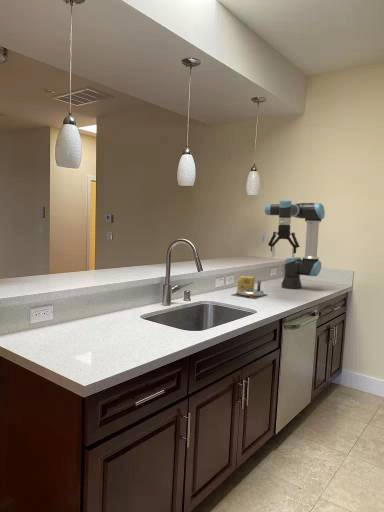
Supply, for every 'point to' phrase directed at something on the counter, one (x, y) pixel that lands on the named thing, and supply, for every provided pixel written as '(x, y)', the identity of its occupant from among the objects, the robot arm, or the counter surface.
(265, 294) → the base plate
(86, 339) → the counter surface
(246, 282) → the cheese
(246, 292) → the metal dish with post
